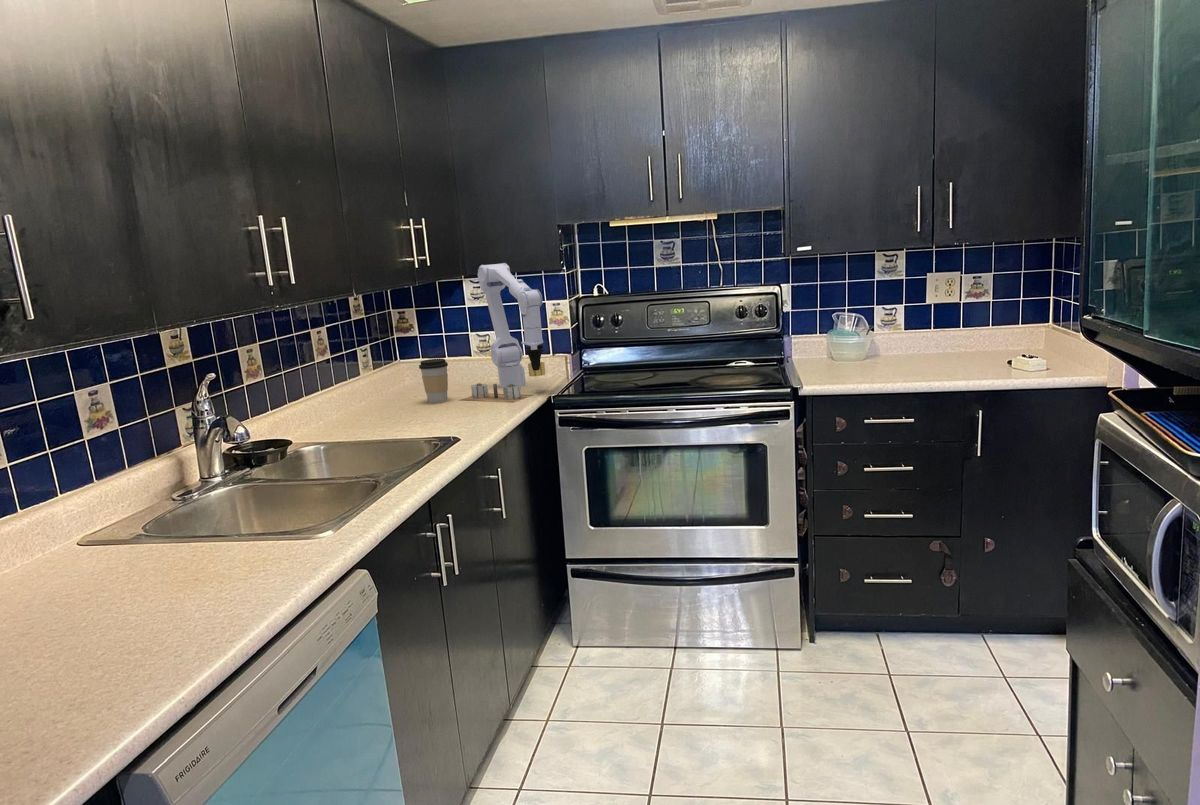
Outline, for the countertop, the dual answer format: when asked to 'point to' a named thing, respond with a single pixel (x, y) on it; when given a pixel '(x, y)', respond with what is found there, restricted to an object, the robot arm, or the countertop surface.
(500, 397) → the gear board
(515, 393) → the steel gear
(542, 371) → the brass gear
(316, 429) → the countertop surface
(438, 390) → the coffee cup
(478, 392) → the steel gear
